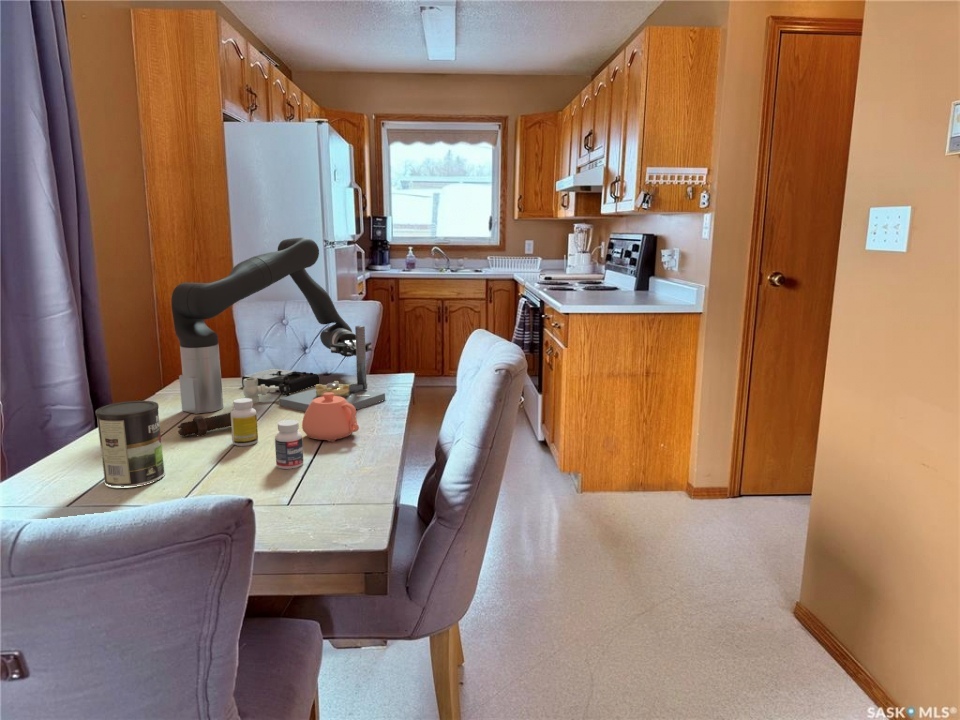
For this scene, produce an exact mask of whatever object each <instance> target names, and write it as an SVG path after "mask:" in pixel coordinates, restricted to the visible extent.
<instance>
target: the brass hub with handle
mask: <svg viewBox="0 0 960 720" xmlns="http://www.w3.org/2000/svg"><path fill="white" fill-rule="evenodd" d="M354 331H355V333H354V334H355V335H356V356H355V357H356V359H355V360H356V383H352V384H343V383H340V381H339V380H334V381H333V382H329V383H327V384H321V383H319V384H316V385H315V386H314V387H315V388H314V389H316V396H317V397H323V394H324V393H327V392H332V393H334V396H340V397H343V398H344V397H347V396H349V395H350V392H352V391H357V390H368V383H367V355H366V354H367V352H366V350H365V342H366V326H365V325H356V326H355V330H354Z"/></svg>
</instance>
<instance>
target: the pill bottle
mask: <svg viewBox="0 0 960 720" xmlns="http://www.w3.org/2000/svg"><path fill="white" fill-rule="evenodd" d="M299 425H300V424H299V421H298V420H296V419H285V420H280V421H278V422H277V431H278V432H277V433H276V434H275V436H274V445H275V462H276V463H275V464H276V467H277V468H279V469H283V470H290V469H292V468H293V469H297V468H300V467H302V466H303V464H304V446H303V445H304V443H303V434H302V432H301V431H299V428H300V427H299Z"/></svg>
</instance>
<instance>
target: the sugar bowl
mask: <svg viewBox="0 0 960 720" xmlns="http://www.w3.org/2000/svg"><path fill="white" fill-rule="evenodd" d="M304 412H305V413H304V414H303V418H302V424H301V429H302V431H303V432H304V433H305V434H306V435H307V436H308V437H309V438H311V439H313V440H314V439H315V440H319V441H320V440H321V441H323V440H324V441H327V442H329V441H333V442H336V441H337V440H338V439H344V438H346V437H348V436H351V434H353V433H356V432H358V430H359V429H360V427H359V425H358V421H357V410H356V409H355V407H354V406H353V405H352V404H349V403H348V402H347V401H346V400H345V398H343V397H340V396H334V393H332V392H327V393H324V394H323V397H318V398H315V399H314V400H313V401H312V402H311V403H310V405H309V407H308V408H307V410H306V411H304ZM335 440H336V441H335Z"/></svg>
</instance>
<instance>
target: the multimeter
mask: <svg viewBox="0 0 960 720" xmlns="http://www.w3.org/2000/svg"><path fill="white" fill-rule="evenodd" d="M284 376H288V380H289V388H290V392H289V393H291V394H295V393H297V391H298V392H301V391H304V390H306V388H307V389H309V388H308V387H310V388H312V387H311V386H313V387H315V386H314V385H316V384H320V380H321V379H320V375H319V374H317V373H313V372H306V371H295V370H286V369H280V368H279V369H277V368H270V369H265V370H261V371H257V372H254V373H250V374H246V375H243V376H242V377H241V385H242V388H244V386H243V380H244V379H246V378H257V379H258V385H257V386H261V385H262V384H265V386H267V387H270V386H273V385H275V387H278V385H280V383H281V382H285V381H283V378H284ZM303 389H304V390H303ZM300 390H301V391H300ZM275 392H276V393H280V392H279V390H275ZM275 392H274V393H275ZM294 392H295V393H294ZM283 393H284V391H283Z"/></svg>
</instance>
